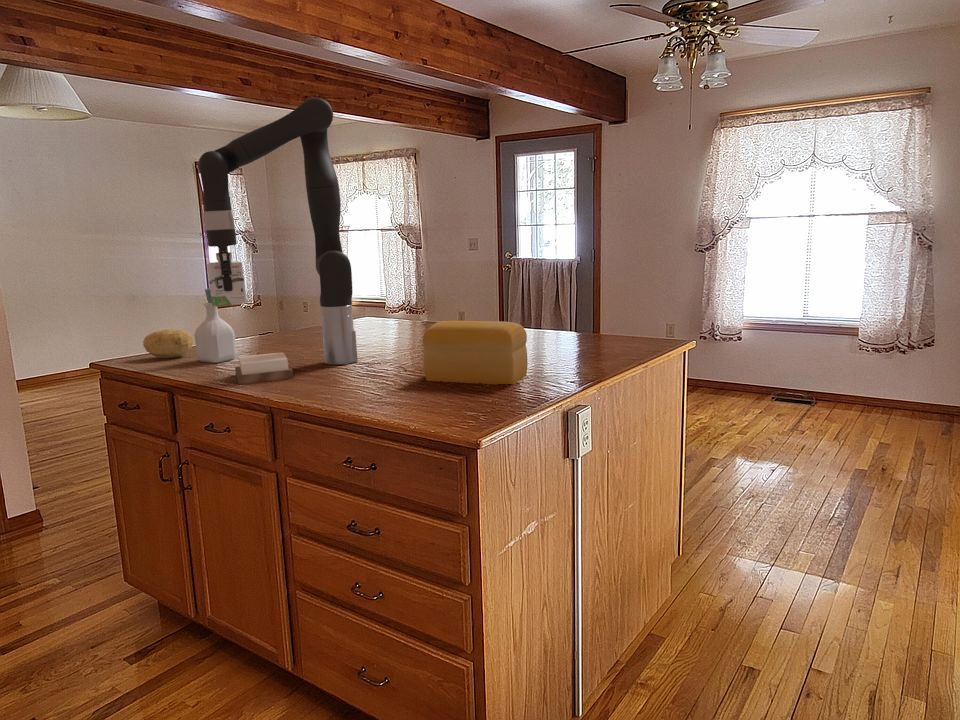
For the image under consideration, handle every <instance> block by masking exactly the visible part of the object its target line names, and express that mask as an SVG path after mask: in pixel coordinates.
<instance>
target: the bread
mask: <svg viewBox="0 0 960 720" xmlns="http://www.w3.org/2000/svg"><path fill="white" fill-rule="evenodd" d="M527 339H528V334H527V331H526V328H524V326H522V325H521V324H520V323H517V322H511V321H500V320H499V321H498V320H497V321H496V320H495V321H494V320H493V321H492V320H442V321H438V322H435V323H434V324H432V325H431V326H430V327H428V328H427V329H426V330H425V332H424V334H423V336H422V345H423V349H424V351H423V368H424V371H423V373H424V376H425V379H426V381H428V382H440V381H442V383H443V382H444V383H459V382H460V383H461V384H479V383H481V385H483V384H484V385H498V384H513V385H515V384H517V383H518V382H520V381H521V380H522V379H524V378H525V377H526V376H527V372H528V363H529V362H528V361H529V360H528V348H527V345H526V344H527V341H528V340H527ZM524 376H525V377H524ZM523 377H524V378H523ZM520 379H521V380H520ZM519 380H520V381H519ZM517 381H518V382H517ZM516 382H517V383H516ZM514 383H515V384H514Z"/></svg>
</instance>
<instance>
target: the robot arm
mask: <svg viewBox="0 0 960 720" xmlns="http://www.w3.org/2000/svg"><path fill="white" fill-rule="evenodd" d="M333 119H334V111H333V108H332V106H331V105H330V103H329V102H328V101H327V100H325V99H323V98H321V97H317V96H316V97H309V98H306V99H305V100H304V101H302V103H301V104H300V105H299V106H298V107H296V108H295V109H294V110H292V111H291V112H289V113H288V114H286V115H284V116H283V117H281V118H278V119H276V120H275V121H273V122H269V123H268V124H265V125H264V126H261V127H259V128H257V129H254V130H251V131H250V132H247V133H245V134H243V135H241V136H239V137H237V138H234V139H233V140H231V141H230V142H229V143H227V144H226V145H224V146H221V147H219V148H217V149H215V150H209V151H205V152H204V153H203V154H202V155H201V156H200V157H199V159H198V161H197V170H198V173H199V174H200V180H201V185H202V204H203V211H204V212H203V213H204V226H205V227H204V228H205V234H206V235H205V236H206V241H207V246H208V247H217V248H218V249H217V250H218V252H216V253H215V257H216V260H217V262H218V265H219V269H220V270H221V276H222V278H223V277H224V278H223V285H224V290H225V291H232V290H233V287H232V280H231V277H232V274H231V273H232V272H231V269H232V262H231V261H232V258H233V257H232V256H233V255H232V252H231V251H230V252H229V249H228V247H229V246H237V235H236V227H235V219H234V215H233V211H232V210H233V209H232V201H231V195H230V192H229V190H230V189H229V174H230V173H232V172H234V171H235V170H238V168H241V167H243V166H246V165H248V164H251V163H253V162H255V161H257V160H259V159H261V158H262V157H263V158H264V156H266V155H269V154H271V153H273V151H275V150H277V149H279V148H280V147H282V146H284V145H285V144H287V143H289V142H290V141H293V140H296V139H298V138H300V141H301V147H302V152H303V164H304V165H303V166H304V176H305V177H304V178H305V188H306V198H307V202H308V203H307V205H308V208H309V214H310V220H311V224H312V229H313V234H314V244H315V248H314V249H315V270H316V272H317V274H318V276H319V283H320V284H319V285H320V293H319V305H320V306H319V307H320V318H321V328H322V329H321V331H322V332H321V333H322V343H323V345H322V346H323V355H324V356H323V358H324V364H326V365H333V366H335V365H337V366H339V365H347V364H352V363H355V362H356V363H357V362H359V361H358V349H357V336H356V335H357V334H356V330H355V329H354V314H353V305H352V304H353V298H352V297H353V275H352V273H353V272H352V264H351V262H350V259H349V257H348V256H347V255H346V254H345V253H344V252H343V247H342V242H341V241H342V240H341V237H340V236H341V235H340V224H341V223H340V222H341V212H342V209H341V207H342V206H341V204H342V203H341V202H342V201H341V194H340V187H339V185H340V184H339V180H338V176H337V173H336V169H335V167H334V164H333V162H332V158H331V155H330V150H329V143H328V142H329V141H328V128H330V126H331V124H332V122H333ZM220 263H221V264H220ZM223 269H228V271H223Z"/></svg>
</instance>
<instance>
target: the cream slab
mask: <svg viewBox="0 0 960 720" xmlns="http://www.w3.org/2000/svg"><path fill="white" fill-rule="evenodd" d="M238 360H239V367H240V369H241V372H242V375H246V374H255V373H265V372H274V371H284V370H289V369H288V365H289V361H288V357H287V356H286V355H285V353H284V352H272V353H262V354H252V355H244V356H238Z"/></svg>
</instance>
